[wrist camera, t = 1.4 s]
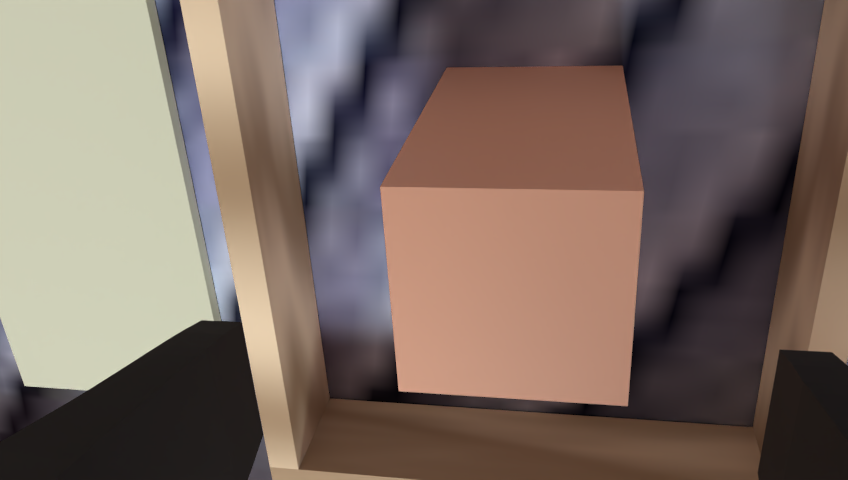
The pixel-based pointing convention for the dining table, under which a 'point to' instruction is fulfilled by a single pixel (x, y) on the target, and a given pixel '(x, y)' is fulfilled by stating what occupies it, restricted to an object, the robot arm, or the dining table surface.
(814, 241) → the wooden tray
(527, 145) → the block
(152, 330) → the mat
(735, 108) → the dining table surface
